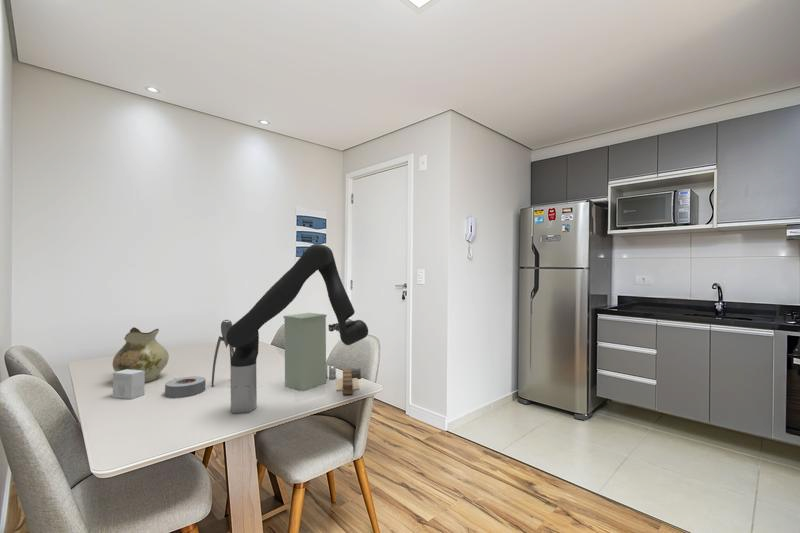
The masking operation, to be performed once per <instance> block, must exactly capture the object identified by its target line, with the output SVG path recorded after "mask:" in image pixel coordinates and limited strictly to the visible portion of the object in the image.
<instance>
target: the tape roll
mask: <svg viewBox="0 0 800 533" xmlns="http://www.w3.org/2000/svg"><path fill="white" fill-rule="evenodd" d="M204 392H206V377H203V376H192V375H191V376H184V377H177V378H174V379H170V380H167V381H166V382H165V384H164V394H165V395H164V396H165V397H166V398H168V399H182V398H183V399H185V398H190V397H194V396H197V394H198V395H200V394H202V393H204Z"/></svg>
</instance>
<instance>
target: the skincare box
mask: <svg viewBox="0 0 800 533" xmlns="http://www.w3.org/2000/svg"><path fill="white" fill-rule="evenodd" d="M145 383H146V382H145V371H141V370H129V369H126V370H121V371H117V372H115V371H114V372H112V398H114V397H115V398H117V399H118V398H119V399H125V400H133V399H135V398H136V399H137V398H139V397H142V396H144V395H145V391H146V390H145V388H146V386H145Z"/></svg>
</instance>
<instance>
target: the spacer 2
mask: <svg viewBox="0 0 800 533" xmlns="http://www.w3.org/2000/svg"><path fill="white" fill-rule="evenodd" d="M328 379H329V380H331V381H333V380H334V381H335V380H337V366H336V365H329V366H328Z"/></svg>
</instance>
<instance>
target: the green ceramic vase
mask: <svg viewBox="0 0 800 533" xmlns="http://www.w3.org/2000/svg"><path fill="white" fill-rule="evenodd" d="M159 331H160V329H159V328H156V329H153V330H152V331H149V332H142V331H141V330H140V329H139V328H137V327H131V328H130V329H129V332H128V333H127V334H125V336H124V340H125V344H124V345H123V346H122V347H121V348H120V349H119V350H118V351H117V352H116V353H115V354H114V357H113V359H112V369H113V370H114V372H117V371H121V370H126V369H129V370H141V371H145V383H149V382H153V381H154V380H156V379H157V378H158V375H159V374H160V373H161V372H162V371H163V370H164V369H165V368H166V366H167V365H168V362H169V357H170V356H169V352H168V350H167V349H166V348H165V347H164V346H163V345H162V344H161V343H160V342H158V341H157V339H156V336H157V335H158V333H159Z"/></svg>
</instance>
